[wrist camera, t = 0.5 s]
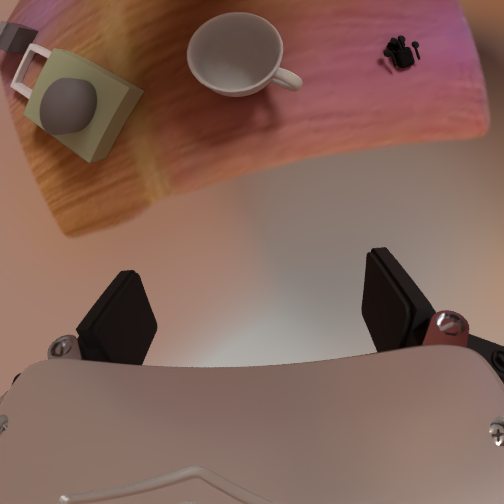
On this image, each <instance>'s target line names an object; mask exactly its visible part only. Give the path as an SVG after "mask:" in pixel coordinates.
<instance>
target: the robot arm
mask: <svg viewBox="0 0 504 504" xmlns="http://www.w3.org/2000/svg"><path fill="white" fill-rule="evenodd" d="M362 315H363V318H364V321H365V323H366V325H367V327H368V330H369V332H370V335H371V337H372V340H373V342H374V345H375V347H376V350H377V352H376V353H371V354H365V355H359V356H352V357H346V358H339V359H331V360H323V361H314V362H305V363H294V364H282V365H268V366H252V367H251V366H250V367H215V368H198V367H196V368H193V367H163V366H144V365H142V364H143V361H144V359H145V356H146V354H147V352H148V349H149V347H150V345H151V342H152V340H153V338H154V336H155V334H156V331H157V322H156V319H155V317H154V314H153V312H152V309H151V306H150V304H149V301H148V298H147V296H146V293H145V290H144V287H143V284H142V281H141V278H140V276H139V275H138V273H136V272H135V271H134V270H127V271H121V272H120V273H119V274H118V275H117V276H116V278H115V279H114V280H113V281H112V282H111V284H110V285H109V286H108V287H107V289H106V290H105V291H104V293H103V294H102V295H101V296H100V298H99V299H98V300H97V302H96V303H95V304H94V305H93V307H92V308H91V309H90V311H89V312H88V314H87V315H86V316H85V318H84V319H83V320H82V322H81V323H80V324H79V326H78V327H77V328H76V331H77V333H78V334H79V337H78V338H76V337H75V336H73V335H65V336H61V337H60V338H58V339H56V340H55V341H54V342H53V343H52V344H51V345H50V347H49V349H48V360H44V361H40V362H37V363H34V364H32V365H30V366H28V367H27V368H26V369H25V370H24V371H23V372H22V373H20V374H18V375H17V376H16V377H15V378H14V381H13V383H12V386H11V388H10V389H9V390H8V391H7V392H6V393H5V394H4V395H3V396H1V397H0V504H504V346H501V345H498V344H496V343H493V342H490V341H487V340H485V339H482V338H479V337H476V336H473V335H471V334H469V324H468V322H467V320H466V319H465V318H464V317H463V316H462V315H460V314H459V313H456V312H454V311H448V310H445V311H440V312H437V313H436V312H435V310H434V309H433V307H432V305H431V304H430V302H429V301H428V300H427V298H426V297H425V296H424V294H423V293H422V292H421V291H420V289H419V288H418V286H417V285H416V284H415V282H414V281H413V280H412V279H411V277H410V276H409V275H408V274H407V273H406V271H405V270H404V269H403V268H402V266H401V265H400V264H399V262H398V261H397V260H396V259H395V258H394V256H393V255H392V254H391V253H390V252H389V250H388V249H387V248H385V247H383V248H373V249H372V250H371V252H368V253H367V257H366V270H365V281H364V291H363V300H362Z"/></svg>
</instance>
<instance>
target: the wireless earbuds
mask: <svg viewBox="0 0 504 504" xmlns="http://www.w3.org/2000/svg"><path fill="white" fill-rule="evenodd" d="M390 41H391V42H389V43H388V48H389V49H390V50H392V51H393V53H394V55H393V53H392V52H391V51H389V50H384V55H385V56H386V57H389V56H390V55H391V57H392V60H393V63H394V66H395V67H398V66H399V67H401V68H405V67H408V66H411V65H413V64H414V58H413V55H412V52H411V49H410V47H405V43H404V42H405V37H404V36H398V40H397V39H396V38H391V40H390ZM412 46H413V47H414V49H415V52H416V55H417V58H418V60H420V56H419V53H418V50H417V48H418V47H419V44H418V42H416V41H414V42H412ZM394 56H395V57H394ZM395 59H396V60H395ZM396 61H397V63H396ZM397 64H398V66H397Z"/></svg>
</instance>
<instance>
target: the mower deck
mask: <svg viewBox="0 0 504 504" xmlns="http://www.w3.org/2000/svg"><path fill="white" fill-rule="evenodd" d="M35 53H38V54H40V55H42V56H44V57H46V58H48V59H47V61H46V63H45V65H44V67H43V69H42V71H41V73H40V76H39V78H38V80H37V82H36V84H35V86H34V89H33V90H31V89H30V88H28V87H27V86H25V85H24V84H22V83H21V82H22V80H23V78H24V75H25V73H26V71H27V69H28V67H29V65H30V63H31V60H32V58H33V56H34V55H35ZM11 87H12V88H14V89H15V90H16V91H18V92H19V93H21V94H22V95H24V96H25V97H27V98H28V99H29V101H28V103H27V106H26V108H25V111H24V115H25V116H26V117H28V118H29V119H30V120H32V121H33V122H34V123H35V124H37V125H38V126H39V127H41V128H42V129H43V130H45V131H46V132H47V133H49V134H50V135H52V136H53V137H54V138H56V139H57V140H58V141H60V142H61V143H62V144H64V145H65V146H66V147H68V148H69V149H70V150H72V151H73V152H75V153H76V154H77V155H79V156H80V157H81V158H83V159H84V160H86V161H87V162H88V163H92V162H95V161H98V160H102V159H105V158H107V156H108V154H109V152H110V150H111V148H112V146H113V144H114V142H115V140H116V138H117V137H118V135H119V133H120V131H121V129H122V127H123V126H124V124H125V122H126V120H127V119H128V117H129V115H130V114H131V112H132V110H133V109H134V107H135V105H136V104H137V102H138V100H139V99H140V97H141V96H142V94H143V93H144V91H143V90H142V89H140V88H138V87H137V86H135V85H133V84H131V83H130V82H128V81H126V80H124V79H123V78H121V77H119V76H117V75H115V74H114V73H112V72H110V71H108V70H106V69H104V68H102V67H101V66H99V65H97V64H95V63H93V62H91V61H89V60H87V59H85V58H83V57H81V56H79V55H77V54H75V53H73V52H71V51H66V50H61V49H57V48H53V50H52V51H49V50H47V49H45V48H43V47H41V46H39V45H37V44H31V43H30V45H29V47H28V49H27V51H26V53H25V55H24V57H23V59H22V61H21V63H20V65H19V67H18V69H17V72H16V74H15V76H14V79H13V81H12V84H11Z"/></svg>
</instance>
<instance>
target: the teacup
mask: <svg viewBox="0 0 504 504" xmlns="http://www.w3.org/2000/svg"><path fill="white" fill-rule="evenodd" d="M282 56H283V43H282V39H281V37H280V35H279V33H278V31H277V30H276V28H275V27H274V26H273V25H272V24H270V23H269V22H268V21H267V20H265V19H264V18H262V17H260V16H257V15H255V14H251V13H245V12H231V13H225V14H221V15H218V16H216V17H214V18H212V19H210V20H208V21H207V22H205V23H204V24H203V25H201V26H200V27H199V28H198V29H197V30H196V31H195V33H194V34H193V36H192V38H191V39H190V42H189V44H188V48H187V61H188V65H189V68H190V70H191V72H192V74H193V75H194V76H195V78H196V79H197V80H198V81H199V82H200V83H202V84H203V85H205V86H206V87H208V88H210V89H211V90H213V91H214V92H216V93H219V94H221V95H225V96H230V97H242V96H248V95H251V94H254V93H256V92H258V91H260V90H261V89H263V88H264V87H266V86H267V85H268V84H269V83H274V84H276V85H279V86H281V87H283V88H286V89H288V90H291V91H298V90H299V89H300V88H301V86H302V84H303V82H302V80H301V79H300V77H298V76H297V75H296V74H294V73H292V72H290V71H288V70H286V69H283V68H280V67H279V66H280V63H281V60H282Z"/></svg>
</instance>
